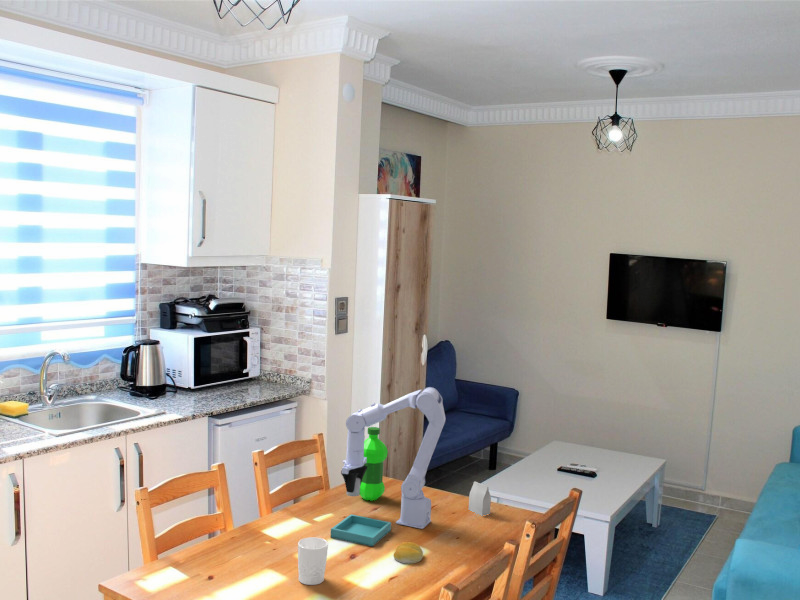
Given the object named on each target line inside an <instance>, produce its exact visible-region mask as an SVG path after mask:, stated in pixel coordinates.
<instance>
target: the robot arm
mask: <svg viewBox="0 0 800 600" xmlns="http://www.w3.org/2000/svg"><path fill="white" fill-rule="evenodd" d="M408 407H409V408H412V409H413V410H414V409H418V410H419V411H421V413H422V414H423V415H424V416H425V417H426V419H427V421H428V425H427V427H426V430H425V432H424V435H423V438H422V440H421V444H420V446H419V448H418V451H417V453H416V456H415V458H414V461H413V464H412V467H411V469H410V471H409V473H408V474H407V476H406V478H405V480H404V481H403V482H402V483H401V487H400V491H401V500H400V502H401V503H400V516H399V517H400V518H399V519H398V520H396V521H395V524H397V525H401V526H407V527H410V528H411V527H412V528H416V529H422V530H423V529H424V528H425V527H427V526H428V525H429V524H430V523H431V522H432V519H431V514H432V499H430V498H429V497H426V496H425V494H424V490H423V488H424V487H425V484H426V474H427V471H428V467H429V465H430V462H431V459H432V456H433V454H434V452H435V449H436V446H437V443H438V441H439V438H440V436H441V433H442V430H443V428H444V426H445V424H446V419H447V418H446V414H445V408H444V404H443V397H442V395H441V393H439V391H438V390H437V389H436V388H434V387H433V386H432V387H431V386H429V387H425V388H424V389H418V390H415V391H413V392H410V393H407V394H406V395H403V396H401V397H398V398H397V399H395V400H392V401H390V402H387V403H385V404H382V403H379V402H378V403H375V402H373V403H371V404H370V406H369V407H366V408H364V409H362V408H359V409H358V410H357V411H356V412H353V413H352V414H351V415H350V416H349V417H347V419H346V421H345V427H346V429H347V435H346V452H345V455H346V456H345V459H343V460H342V463H343V466H342V467H341V471H340V474H341V476H342V478H343V481H344V485H345V488H346V492H351V493H353V491H354V487H355V481H356V478H360V486H361V482H362V479H363V476H364V473H365V471H366V470H367V466H364V464H365V463H366V461H367V457H364V441H365V440H366V439H365V437H366V436H365V432H366V431H365V430H366V427H367V428H369V427H372V426H373V425H376V424H378V423H380V422H382V421H385V420H386V419H387V416H388V415H389V414H392V413H395V412H397V411H399V410H403V409H405V408H408Z"/></svg>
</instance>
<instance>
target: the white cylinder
mask: <svg viewBox="0 0 800 600" xmlns="http://www.w3.org/2000/svg"><path fill="white" fill-rule="evenodd" d="M346 495H347V496H348V497H359V496H360V478H356V481H355V487H354V491H353V493H351V492H347V491H346Z"/></svg>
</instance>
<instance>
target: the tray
mask: <svg viewBox="0 0 800 600" xmlns="http://www.w3.org/2000/svg"><path fill="white" fill-rule="evenodd" d="M391 531H392V522H391V521H386V520H380V519H375V518H370V517H366V516H361V515H356V514H352V513H351V514H349V515H347V517H345V518H344V519H342V520H341V521H339V522H338V523H337V524H335V525H334V526H333V527H331V528H330V538H331V539H337V540H341V541H345V542H348V543H349V542H350V543H354V544H359V545H362V546H368V547H374V546H375V545H376V544H377V543H379V542H380V541H381V540H382V539H384V537H386V535H388V534H389V533H390V532H391Z"/></svg>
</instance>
